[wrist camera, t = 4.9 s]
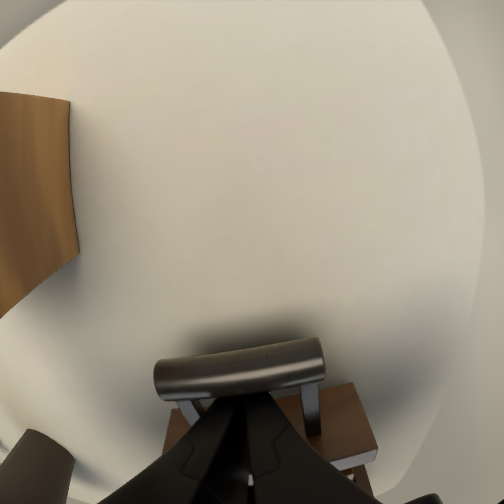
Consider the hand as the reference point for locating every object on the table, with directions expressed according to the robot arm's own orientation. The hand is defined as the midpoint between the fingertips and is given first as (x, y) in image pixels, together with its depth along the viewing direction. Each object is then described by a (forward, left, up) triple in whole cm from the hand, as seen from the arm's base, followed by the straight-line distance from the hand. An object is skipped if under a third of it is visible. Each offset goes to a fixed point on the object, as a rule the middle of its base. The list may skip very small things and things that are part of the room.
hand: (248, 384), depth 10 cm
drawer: (-2, +5, -1) cm, 6 cm away
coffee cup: (+16, +16, -2) cm, 23 cm away
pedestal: (+10, -6, -2) cm, 12 cm away
